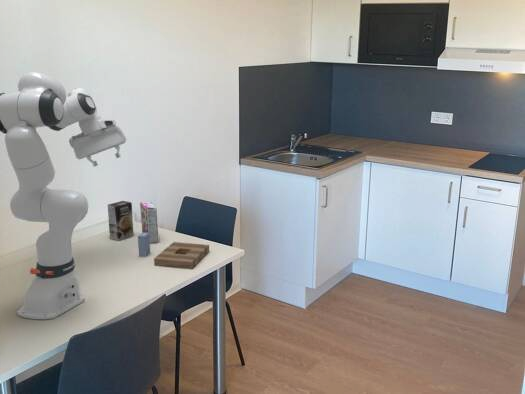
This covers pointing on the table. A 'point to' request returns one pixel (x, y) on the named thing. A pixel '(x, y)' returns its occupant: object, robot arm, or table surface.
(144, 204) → the candy bar box
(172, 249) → the walnut block
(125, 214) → the coffee box
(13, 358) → the table surface
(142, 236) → the grey post
